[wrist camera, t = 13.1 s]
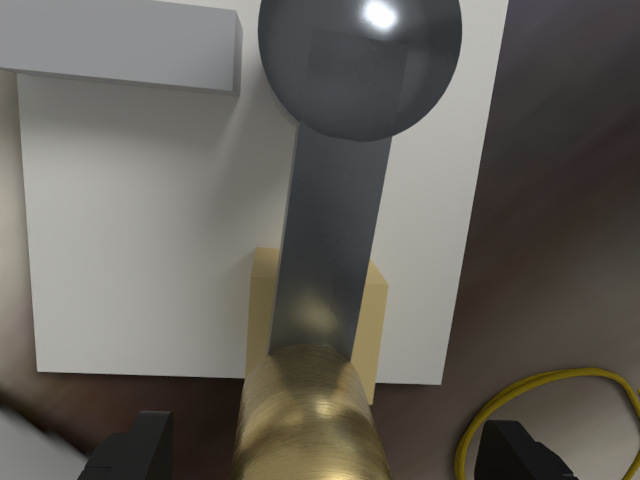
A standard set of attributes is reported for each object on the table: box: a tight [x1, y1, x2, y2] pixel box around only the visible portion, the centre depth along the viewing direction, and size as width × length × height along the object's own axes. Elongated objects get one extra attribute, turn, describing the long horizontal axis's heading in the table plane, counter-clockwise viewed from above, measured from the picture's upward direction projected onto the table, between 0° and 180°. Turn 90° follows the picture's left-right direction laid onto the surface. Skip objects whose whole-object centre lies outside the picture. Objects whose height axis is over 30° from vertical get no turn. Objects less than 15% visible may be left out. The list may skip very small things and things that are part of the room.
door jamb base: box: [0, 0, 509, 405], centre depth 16 cm, size 19×28×6 cm
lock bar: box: [229, 0, 462, 480], centre depth 10 cm, size 14×5×8 cm, turn 171°
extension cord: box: [454, 368, 640, 480], centre depth 25 cm, size 12×16×2 cm
